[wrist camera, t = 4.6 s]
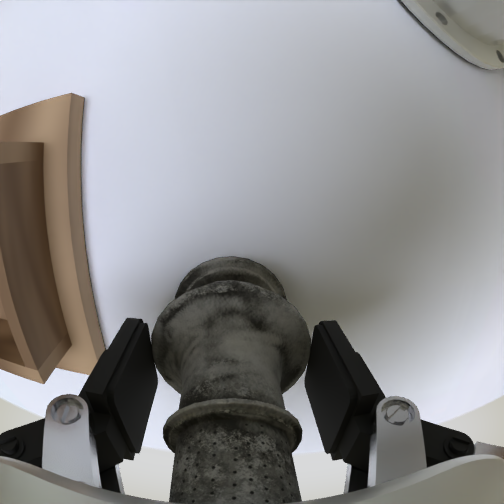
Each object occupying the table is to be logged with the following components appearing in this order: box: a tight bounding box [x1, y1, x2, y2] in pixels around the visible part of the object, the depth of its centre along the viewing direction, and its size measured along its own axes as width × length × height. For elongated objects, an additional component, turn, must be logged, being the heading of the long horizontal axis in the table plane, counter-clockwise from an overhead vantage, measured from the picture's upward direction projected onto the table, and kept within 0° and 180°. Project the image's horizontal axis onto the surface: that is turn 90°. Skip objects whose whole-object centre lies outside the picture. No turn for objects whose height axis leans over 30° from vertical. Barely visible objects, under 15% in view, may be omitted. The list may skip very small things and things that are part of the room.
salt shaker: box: [151, 257, 311, 504], centre depth 7 cm, size 6×6×12 cm
